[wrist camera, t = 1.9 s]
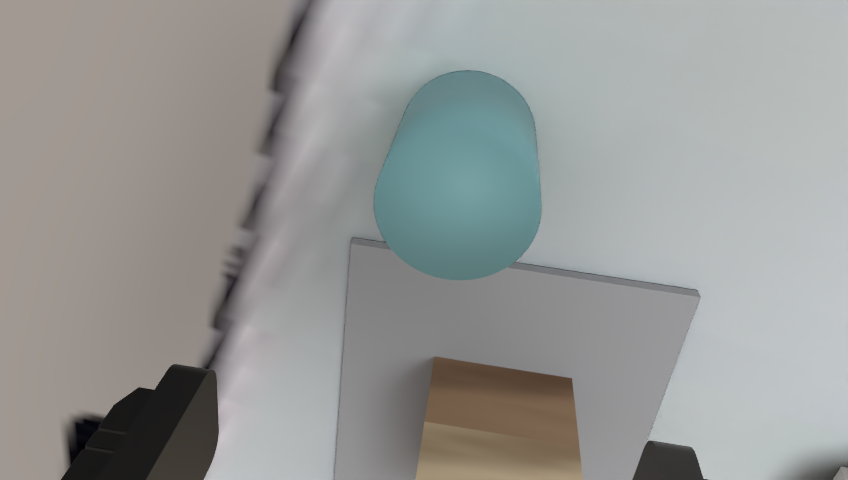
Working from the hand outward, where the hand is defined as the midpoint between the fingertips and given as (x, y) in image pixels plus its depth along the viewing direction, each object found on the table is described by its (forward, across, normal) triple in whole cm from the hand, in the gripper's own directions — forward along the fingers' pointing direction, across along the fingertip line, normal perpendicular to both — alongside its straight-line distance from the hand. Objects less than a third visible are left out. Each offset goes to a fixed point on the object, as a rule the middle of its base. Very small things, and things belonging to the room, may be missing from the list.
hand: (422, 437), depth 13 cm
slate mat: (+15, -3, +13) cm, 20 cm away
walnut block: (+15, -3, +13) cm, 20 cm away
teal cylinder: (+15, 0, 0) cm, 15 cm away
